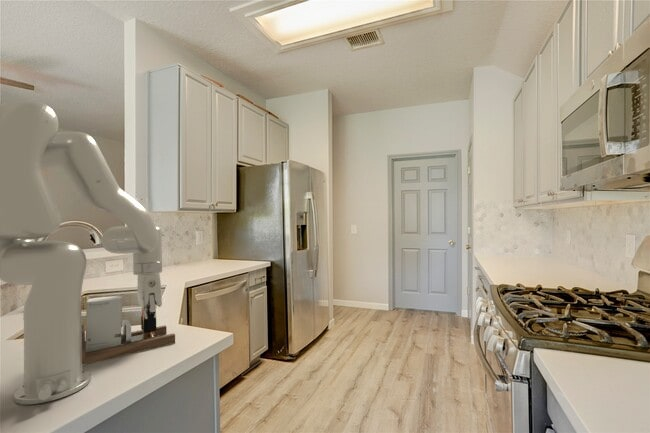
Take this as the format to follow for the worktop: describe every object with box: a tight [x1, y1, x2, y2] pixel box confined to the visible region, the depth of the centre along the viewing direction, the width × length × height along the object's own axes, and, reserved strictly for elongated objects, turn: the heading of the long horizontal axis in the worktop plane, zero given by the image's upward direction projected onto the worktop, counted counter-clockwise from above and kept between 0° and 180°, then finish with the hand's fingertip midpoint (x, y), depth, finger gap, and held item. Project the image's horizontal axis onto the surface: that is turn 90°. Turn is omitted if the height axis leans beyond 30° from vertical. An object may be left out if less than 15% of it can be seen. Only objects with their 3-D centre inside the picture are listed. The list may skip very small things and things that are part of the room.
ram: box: [122, 306, 155, 345], centre depth 95 cm, size 7×8×11 cm
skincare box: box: [85, 295, 123, 353], centre depth 90 cm, size 8×6×15 cm
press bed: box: [82, 321, 176, 366], centre depth 92 cm, size 12×24×8 cm, turn 129°
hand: (148, 329), depth 96 cm, fingers closed on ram, 3 cm apart
